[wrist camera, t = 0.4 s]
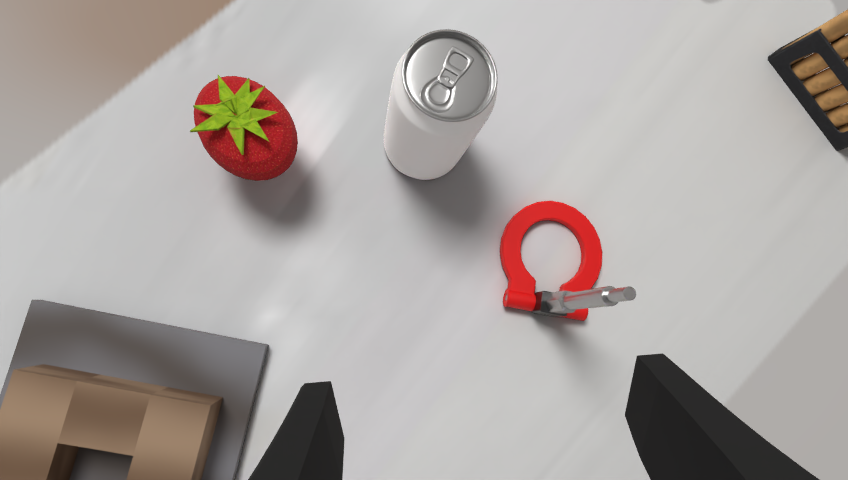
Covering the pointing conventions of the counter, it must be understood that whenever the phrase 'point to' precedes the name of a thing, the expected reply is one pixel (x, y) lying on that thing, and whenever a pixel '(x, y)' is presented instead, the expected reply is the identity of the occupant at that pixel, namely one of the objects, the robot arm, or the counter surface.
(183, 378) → the holder
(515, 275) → the tow hook
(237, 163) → the strawberry
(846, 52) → the ammunition clip
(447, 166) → the can
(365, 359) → the counter surface
